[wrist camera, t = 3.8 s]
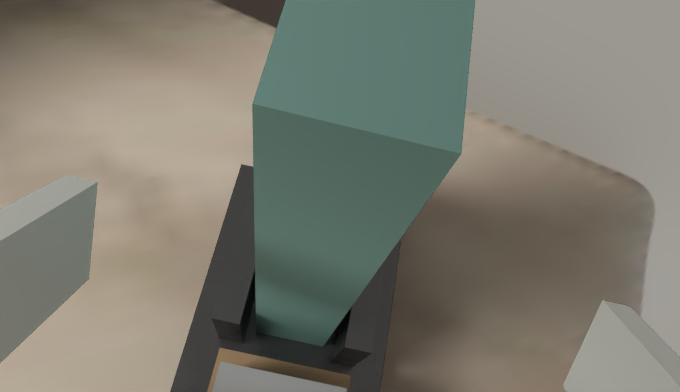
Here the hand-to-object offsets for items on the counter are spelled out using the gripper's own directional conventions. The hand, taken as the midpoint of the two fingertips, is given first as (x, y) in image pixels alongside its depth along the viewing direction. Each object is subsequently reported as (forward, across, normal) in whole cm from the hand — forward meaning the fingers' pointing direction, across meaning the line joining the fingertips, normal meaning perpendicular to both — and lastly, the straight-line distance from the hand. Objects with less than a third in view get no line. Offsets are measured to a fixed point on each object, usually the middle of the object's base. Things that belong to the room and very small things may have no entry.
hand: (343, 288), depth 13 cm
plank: (+13, -1, -7) cm, 15 cm away
